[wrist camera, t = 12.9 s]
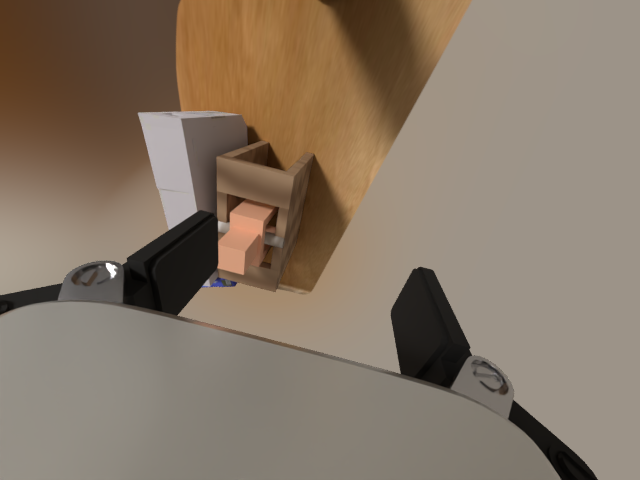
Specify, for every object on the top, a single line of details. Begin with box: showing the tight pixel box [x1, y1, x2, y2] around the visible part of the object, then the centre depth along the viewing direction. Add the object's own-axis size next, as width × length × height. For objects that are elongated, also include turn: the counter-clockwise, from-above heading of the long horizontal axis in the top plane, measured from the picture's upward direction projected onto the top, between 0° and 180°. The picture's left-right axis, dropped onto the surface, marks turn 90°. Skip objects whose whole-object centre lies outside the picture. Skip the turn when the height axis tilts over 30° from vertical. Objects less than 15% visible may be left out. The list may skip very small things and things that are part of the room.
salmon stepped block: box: [217, 199, 279, 275], centre depth 38 cm, size 8×5×16 cm, turn 167°
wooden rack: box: [216, 141, 314, 292], centre depth 45 cm, size 22×11×19 cm, turn 167°
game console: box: [138, 111, 248, 287], centre depth 44 cm, size 6×27×20 cm, turn 174°
